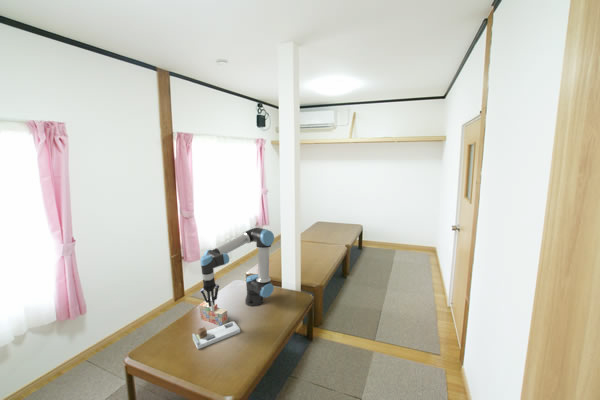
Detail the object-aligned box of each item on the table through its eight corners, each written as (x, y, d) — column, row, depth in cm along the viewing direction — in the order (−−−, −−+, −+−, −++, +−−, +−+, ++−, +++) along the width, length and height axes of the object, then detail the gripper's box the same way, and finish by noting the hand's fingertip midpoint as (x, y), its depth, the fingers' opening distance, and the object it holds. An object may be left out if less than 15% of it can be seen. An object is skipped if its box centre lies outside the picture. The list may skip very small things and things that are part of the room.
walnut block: (205, 332, 190) (204, 326, 190) (207, 336, 187) (206, 330, 186) (198, 335, 188) (197, 329, 187) (200, 338, 184) (199, 332, 183)
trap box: (233, 324, 204) (233, 318, 203) (240, 332, 194) (239, 326, 193) (192, 339, 187) (192, 333, 187) (197, 349, 177) (197, 343, 177)
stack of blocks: (228, 321, 207) (226, 306, 206) (222, 326, 202) (221, 310, 200) (206, 315, 217) (205, 300, 215) (200, 319, 211) (199, 304, 209)
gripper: (216, 273, 195) (219, 304, 199) (197, 279, 187) (201, 311, 192) (219, 277, 189) (223, 308, 193) (200, 283, 181) (204, 316, 185)
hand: (212, 310), depth 192 cm, fingers closed
